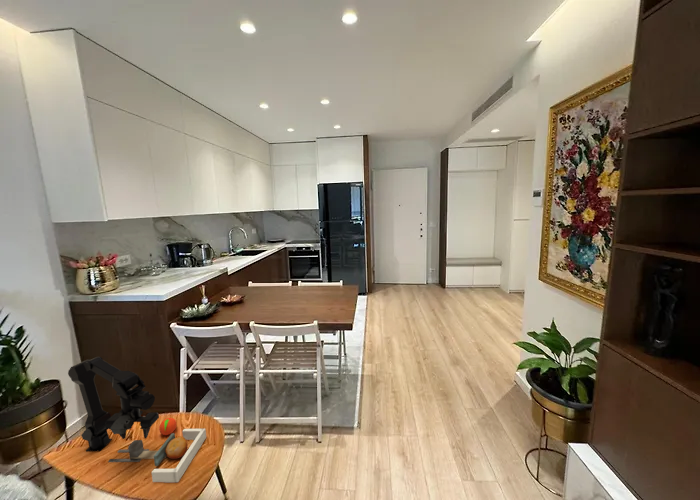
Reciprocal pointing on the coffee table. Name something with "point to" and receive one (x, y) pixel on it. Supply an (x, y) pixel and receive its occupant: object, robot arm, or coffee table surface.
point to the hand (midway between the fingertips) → (135, 438)
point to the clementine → (167, 426)
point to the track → (125, 459)
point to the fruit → (176, 448)
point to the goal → (177, 473)
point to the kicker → (138, 451)
